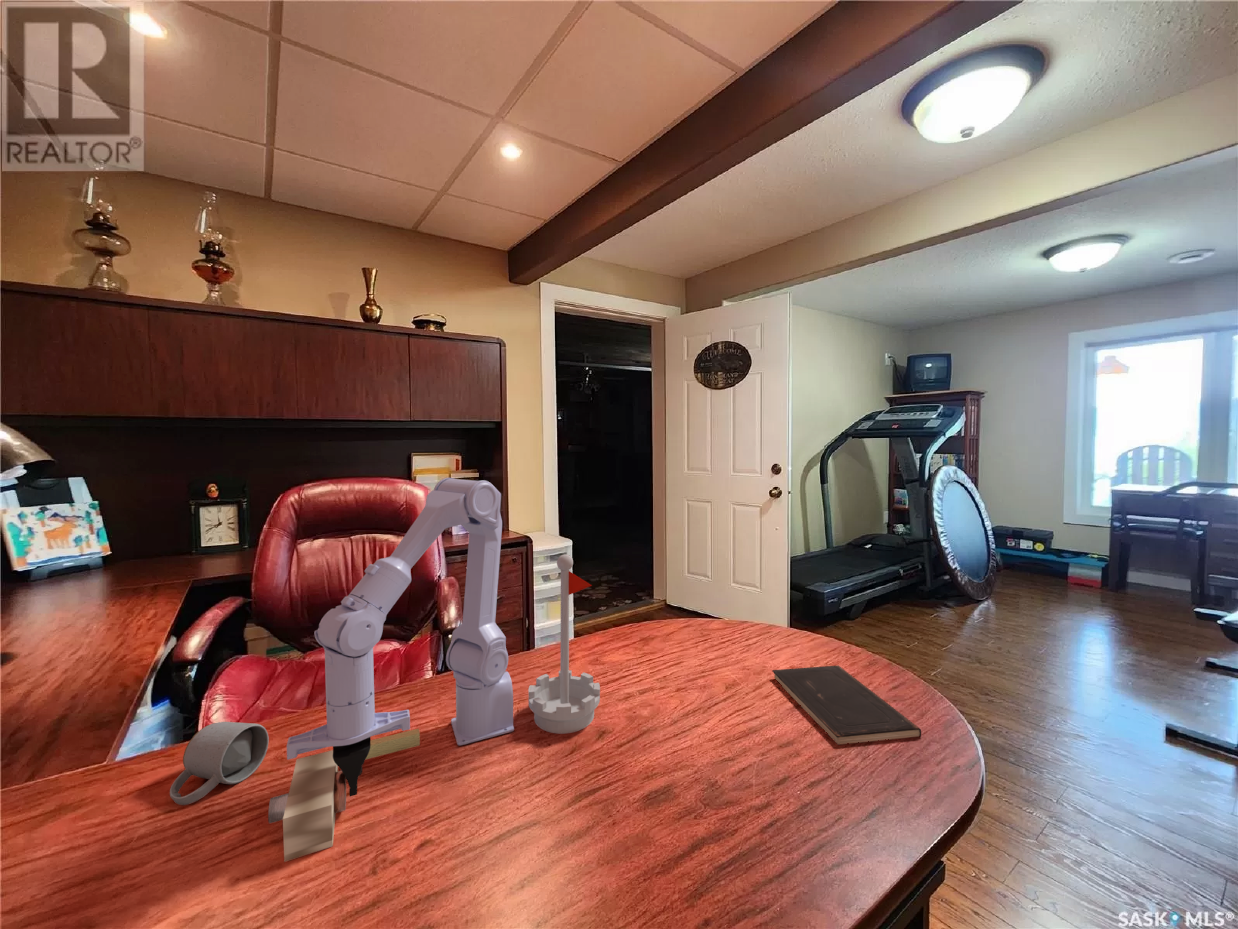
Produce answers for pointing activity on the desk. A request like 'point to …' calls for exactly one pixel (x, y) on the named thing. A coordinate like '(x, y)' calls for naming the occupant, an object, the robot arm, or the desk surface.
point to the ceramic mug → (221, 757)
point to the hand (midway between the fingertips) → (353, 791)
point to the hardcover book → (844, 705)
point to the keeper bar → (393, 743)
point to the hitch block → (310, 806)
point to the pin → (279, 802)
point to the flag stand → (565, 675)
